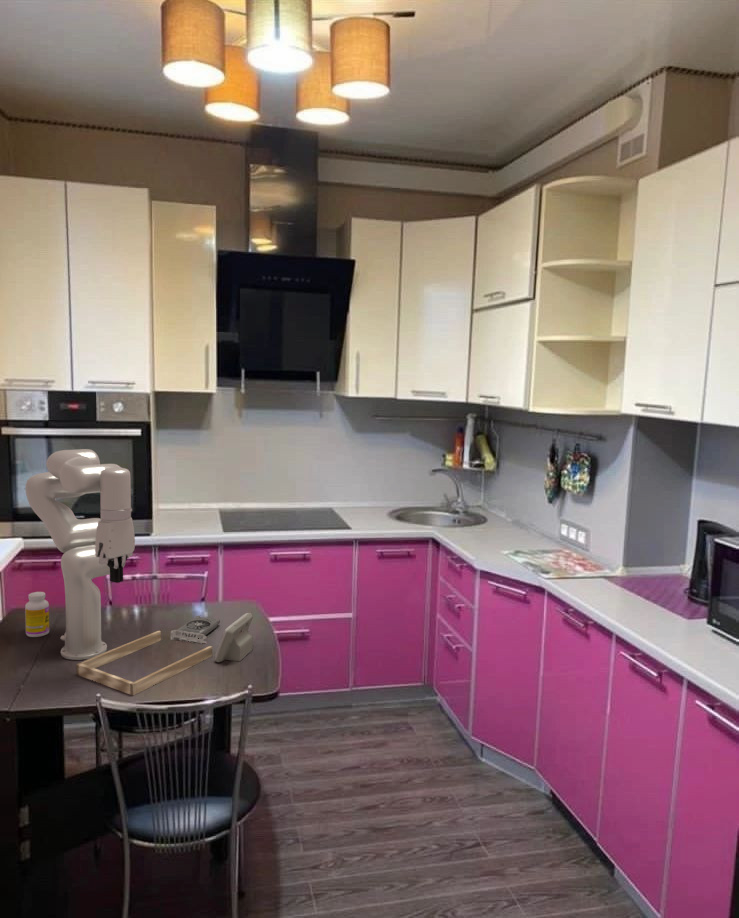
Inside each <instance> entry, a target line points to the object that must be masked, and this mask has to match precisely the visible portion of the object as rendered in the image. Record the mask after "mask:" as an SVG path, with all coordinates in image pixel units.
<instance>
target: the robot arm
mask: <svg viewBox="0 0 739 918" xmlns="http://www.w3.org/2000/svg"><path fill="white" fill-rule="evenodd" d="M46 469H47V471H46V472H40V473H36V474H34V475H32V476H30V477H29V478H28V479H27V480H26V482H25V487H24V489H25V495H26V499H27V503H28V505H29V506H30V508H31V510H32V511H33V512H34V514H35V515H37V517H38V518H39V519H40V520H41V522H42V523H44V525H45V527H46V530H47V532H48V533H49V536H50V537H51V539H52V542H53V544H54V545H55V547H56V548H57V549H58V551H60V553H63V554H62V556H61V559H60V567H61V572H62V573H61V574H62V576H63V583H64V594H65V595H64V596H65V599H64V601H65V602H64V603H65V632H64V635H61V636H60V640H61V641H62V642H63V641H64V646H62V648H61V649H60V656H61V657H62V658H64V659H66V660H72V661H73V660H74V661H82V660H84V661H85V660H88V659H90V658H93V657H95V656H98V655H100V654H102V653H105V652H107V650H108V645H107V643H106V642H105V641H103V640H102V602H101V601H102V599H101V598H102V597H101V595H102V594H101V591H100V588H99V587H98V586H97V585H96V584H95V583H94V582H93V581H92V580H93V579H95V578H96V579H97V578H99V577H104V576H105V577H106V576H108V575H109V581H110V582H112V583H115V584H117V583H118V584H119V583H122V582H124V567H125V566H126V562H127V560H128V559H129V558H131V557H132V556H133V555H134V551H135V547H136V537H135V526H134V523H133V522H134V521H133V518H132V512H133V508H132V504H131V503H132V501H131V500H132V499H131V498H132V497H131V496H132V495H131V492H132V491H131V481H132V480H131V472H130V470H129V469H128V468H125V467H121V466H120V465H118V464H116V463H101V462H100V458H99V455H98V454H97V452H95V451H94V450H93V449H90V448H89V449H88V448H81V449H80V448H79V449H62V450H61V449H60V450H57V451H54V452H53V453H52V454H50V455H49V456H48V457H47V459H46ZM94 493H100V499H99V500H100V518H99V517H90V518H84V519H79V518H77V517H76V516H75V514H74V511H73V510H72V509H71V508H70V507H69V506H68V505H66V504H65V503H63V502H60V501H58V500H61V499H66V498H67V499H68V498H76V497H81V496H84V495H86V494H94Z"/></svg>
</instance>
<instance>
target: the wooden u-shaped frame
mask: <svg viewBox="0 0 739 918" xmlns="http://www.w3.org/2000/svg"><path fill="white" fill-rule="evenodd" d="M161 641H162V631H161V630H157V631H154V632H152V633H149V634H146V635H145V636H144V635H143V636H141V637H139V638H137V639H135V640H132V641H130V642H128V643H125V644H121V645H120V646H117V647H115V648H113V649H109V650H108V651H107V650H106V651H105V652H104V653H102V654H100V655H98V656H95V657H93V658H90V659H84V661H81V662H78V663H76V665H75V666H76V668H75V669H76V672H75V673H76V676H78V677H81V678H84V679H87V680H89V681H92V680H93V681H92V682H95V681H96V683H98V684H100V683H101V685H103V686H106V687H109V688H111V689H114V690H116V691H120V692H122V693H125V694H127V695H130V696H135V695H138V694H140V693H141V692H143V691H145V690H147V689H149V688H152V687H153V685H154V686H155V684H156V685H158V684H160V683H162V682H164V681H165V680H168V679H169V678H172V677H174V676H175V675H178V674H179V673H182V672H183V671H186V670H188V669H189V668H191V667H194V666H195V665H197V664H200V663H202V662H203V660H204V661H206V660H207V659H210V658H211V657H213V646H211V645H209V646H206V647H204V648H202V649H200V650H198V651H196V652H193V653H191V654H190V655H187V656H186V657H183V658H181V659H179V660H177V661H175V662H172V663H171V664H169V665H167V666H165V667H162V668H160V669H158V670H156V671H154V672H151V673H150V674H148V675H146V676H143V677H142V678H139V679H137V680H135V681H132V680H129V679H125V678H122V677H120V676H118V675H114V674H111V673H109V672H106V671H104V670H100V669H98V668H100V667H102V666H105V665H108V664H110V663H111V662H114V661H117V660H118V659H121V658H123V657H125V656H128V655H130V654H133V653H135V652H138V651H141V650H143V649H144V648H146V647H150V646H151V645H154V644H156V643H158V642H161Z"/></svg>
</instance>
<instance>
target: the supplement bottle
mask: <svg viewBox="0 0 739 918" xmlns="http://www.w3.org/2000/svg"><path fill="white" fill-rule="evenodd" d="M45 598H46V592H44V591H35V592H30V593H28V602H26V603H25V605H24V608H25V610H24V611H25V613H24V614H25V634H26V636H27V637H29V638H40V637H43V636H46V635H48V634H49V633H50V604H49V603H50V602H48V600H46V599H45Z"/></svg>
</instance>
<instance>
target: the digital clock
mask: <svg viewBox="0 0 739 918" xmlns="http://www.w3.org/2000/svg"><path fill="white" fill-rule="evenodd" d="M252 620H253V614H252V613H251V612H246V613H244V614H243V615H241V616H240V617H239V618H238V619H236V620H235V621H234V622H232V623H231V624H230V625H229V626H227V627H226V628H225V630H224V631H223V633H222V636H221V639H220V641H219V644H218V647H217V649H216V652H215V655H214V660H215V663H216V662H217V663H222V662H223V661H224V660H230V661H235V662H241V661H242V660H243V659H244V658H245V657H246V656H247V655H249V653H251V652H252V651H253V649H254V648H253V647H254V645H253V644H254V638H253V634H251V633H250V631H249V629H250V626H251V625H252V624H251V623H252Z"/></svg>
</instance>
